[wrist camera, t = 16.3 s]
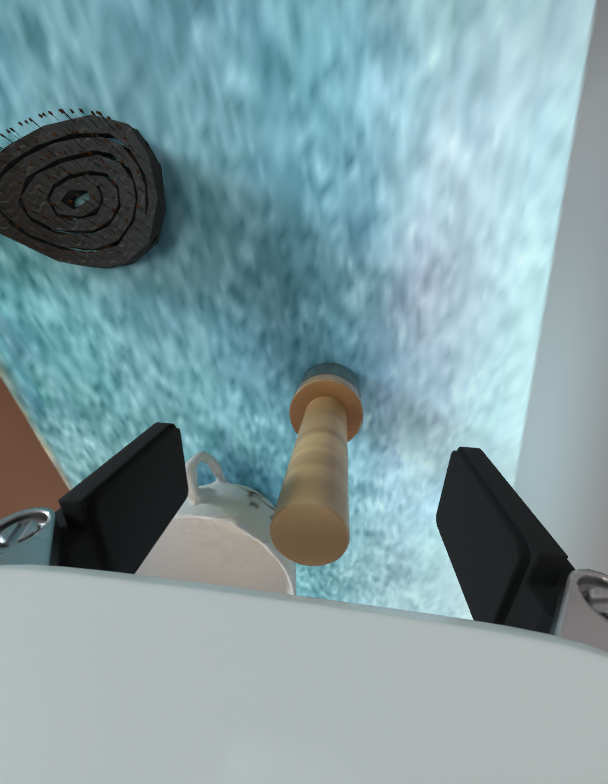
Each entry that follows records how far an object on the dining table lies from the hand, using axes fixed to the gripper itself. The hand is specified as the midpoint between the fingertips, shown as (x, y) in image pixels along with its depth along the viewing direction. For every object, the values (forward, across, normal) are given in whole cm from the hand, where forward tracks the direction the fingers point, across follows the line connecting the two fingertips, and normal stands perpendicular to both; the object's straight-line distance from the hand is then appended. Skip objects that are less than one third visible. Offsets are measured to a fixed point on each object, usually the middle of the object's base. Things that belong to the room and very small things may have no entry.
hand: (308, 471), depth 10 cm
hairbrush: (+14, +22, -10) cm, 28 cm away
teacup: (+13, +7, +13) cm, 19 cm away
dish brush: (+13, 0, +2) cm, 13 cm away
